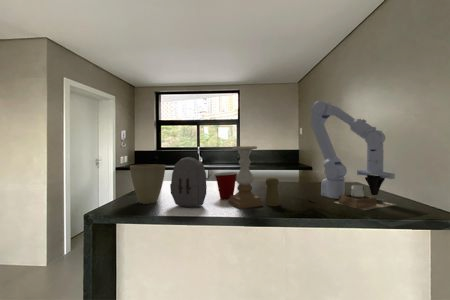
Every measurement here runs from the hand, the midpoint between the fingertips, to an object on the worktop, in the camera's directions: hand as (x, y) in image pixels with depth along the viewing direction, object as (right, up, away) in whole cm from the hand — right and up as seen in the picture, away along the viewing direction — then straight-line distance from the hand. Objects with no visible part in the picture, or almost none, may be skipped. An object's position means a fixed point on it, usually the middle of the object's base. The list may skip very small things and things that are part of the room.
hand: (374, 194), depth 104 cm
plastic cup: (-59, -5, +15) cm, 61 cm away
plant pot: (-93, -5, +9) cm, 94 cm away
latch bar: (0, -3, 0) cm, 3 cm away
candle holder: (-52, -5, +3) cm, 52 cm away
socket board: (-5, -4, -2) cm, 7 cm away
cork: (-40, -5, +3) cm, 41 cm away
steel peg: (-9, -3, -4) cm, 10 cm away
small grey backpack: (-74, -5, 0) cm, 75 cm away
